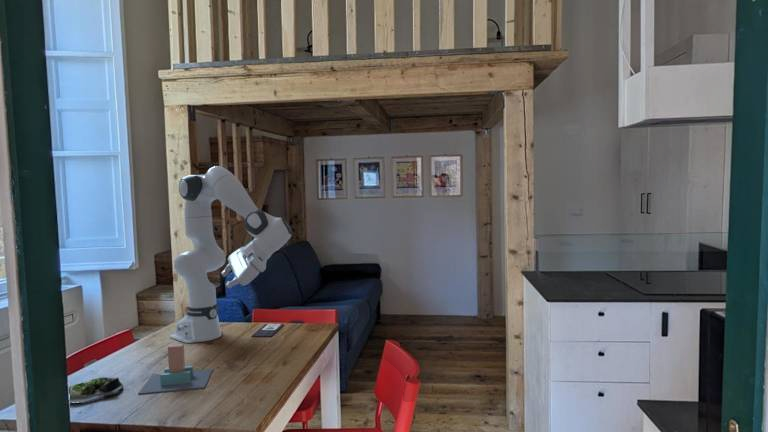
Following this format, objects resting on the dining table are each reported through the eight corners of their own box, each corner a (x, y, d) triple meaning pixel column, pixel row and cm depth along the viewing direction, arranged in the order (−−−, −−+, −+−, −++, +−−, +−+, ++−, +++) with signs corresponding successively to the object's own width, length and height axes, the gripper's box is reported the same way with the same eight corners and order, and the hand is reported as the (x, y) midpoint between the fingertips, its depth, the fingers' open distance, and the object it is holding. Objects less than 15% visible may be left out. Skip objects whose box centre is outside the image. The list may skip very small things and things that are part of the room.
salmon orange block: (185, 378, 164) (183, 343, 163) (183, 381, 161) (182, 346, 161) (171, 379, 163) (169, 344, 162) (169, 382, 160) (167, 347, 160)
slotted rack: (160, 385, 158) (160, 375, 158) (165, 378, 164) (165, 368, 164) (189, 382, 160) (189, 372, 159) (193, 375, 166) (193, 365, 166)
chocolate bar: (251, 335, 210) (265, 324, 228) (251, 338, 210) (265, 326, 228) (271, 336, 209) (284, 324, 227) (271, 338, 209) (284, 326, 227)
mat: (138, 394, 152) (138, 393, 152) (152, 375, 168) (152, 374, 168) (204, 388, 156) (204, 387, 156) (212, 370, 172) (212, 369, 172)
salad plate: (55, 415, 140) (54, 400, 140) (47, 396, 154) (46, 382, 153) (128, 395, 153) (127, 381, 153) (114, 379, 166) (114, 366, 166)
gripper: (242, 238, 181) (214, 263, 179) (254, 260, 164) (223, 288, 162) (253, 249, 184) (225, 273, 182) (266, 271, 167) (236, 299, 165)
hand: (224, 280), depth 172 cm, fingers open, 8 cm apart
